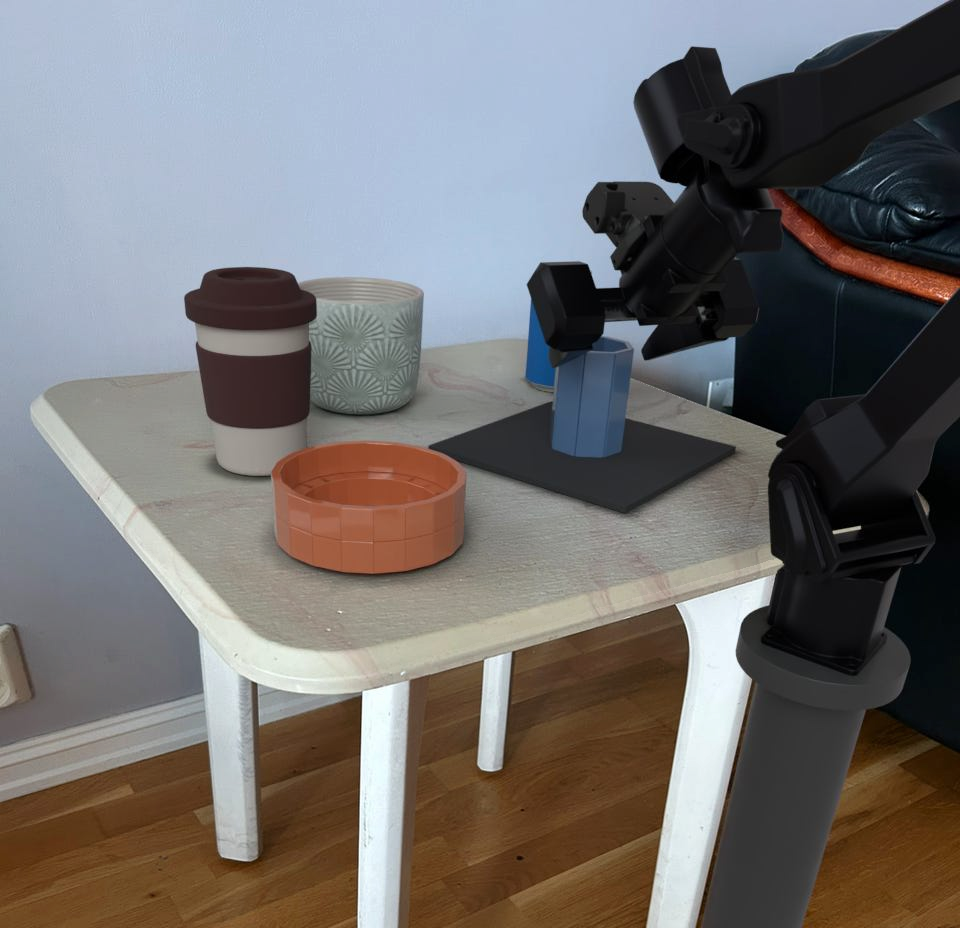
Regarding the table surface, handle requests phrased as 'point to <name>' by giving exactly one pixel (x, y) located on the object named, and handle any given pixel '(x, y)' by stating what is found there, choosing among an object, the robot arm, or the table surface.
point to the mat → (586, 459)
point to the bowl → (368, 506)
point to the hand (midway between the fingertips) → (598, 359)
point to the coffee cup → (253, 363)
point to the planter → (364, 343)
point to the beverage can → (538, 357)
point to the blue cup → (592, 400)
